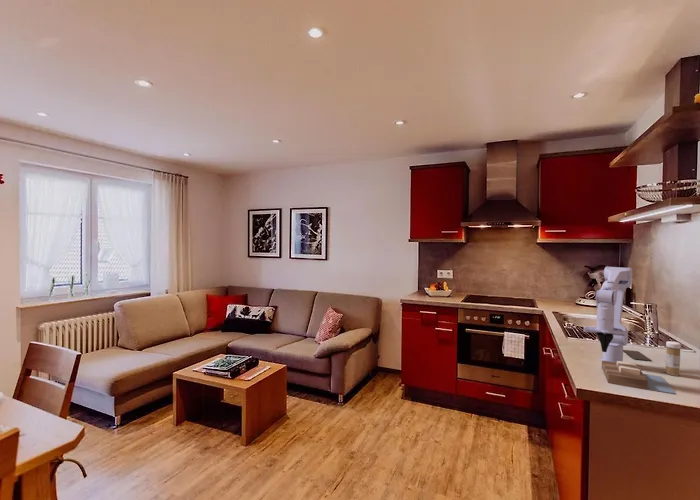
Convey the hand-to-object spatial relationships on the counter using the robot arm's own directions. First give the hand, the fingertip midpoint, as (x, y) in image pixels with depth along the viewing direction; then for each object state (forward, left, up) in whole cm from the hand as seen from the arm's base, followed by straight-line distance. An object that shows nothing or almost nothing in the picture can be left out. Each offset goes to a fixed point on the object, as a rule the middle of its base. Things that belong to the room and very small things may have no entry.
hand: (604, 351), depth 145 cm
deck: (0, +7, -10) cm, 12 cm away
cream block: (0, +8, -6) cm, 10 cm away
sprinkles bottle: (-16, +26, -10) cm, 32 cm away
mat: (0, +17, -10) cm, 19 cm away
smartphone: (-38, +18, -10) cm, 43 cm away
